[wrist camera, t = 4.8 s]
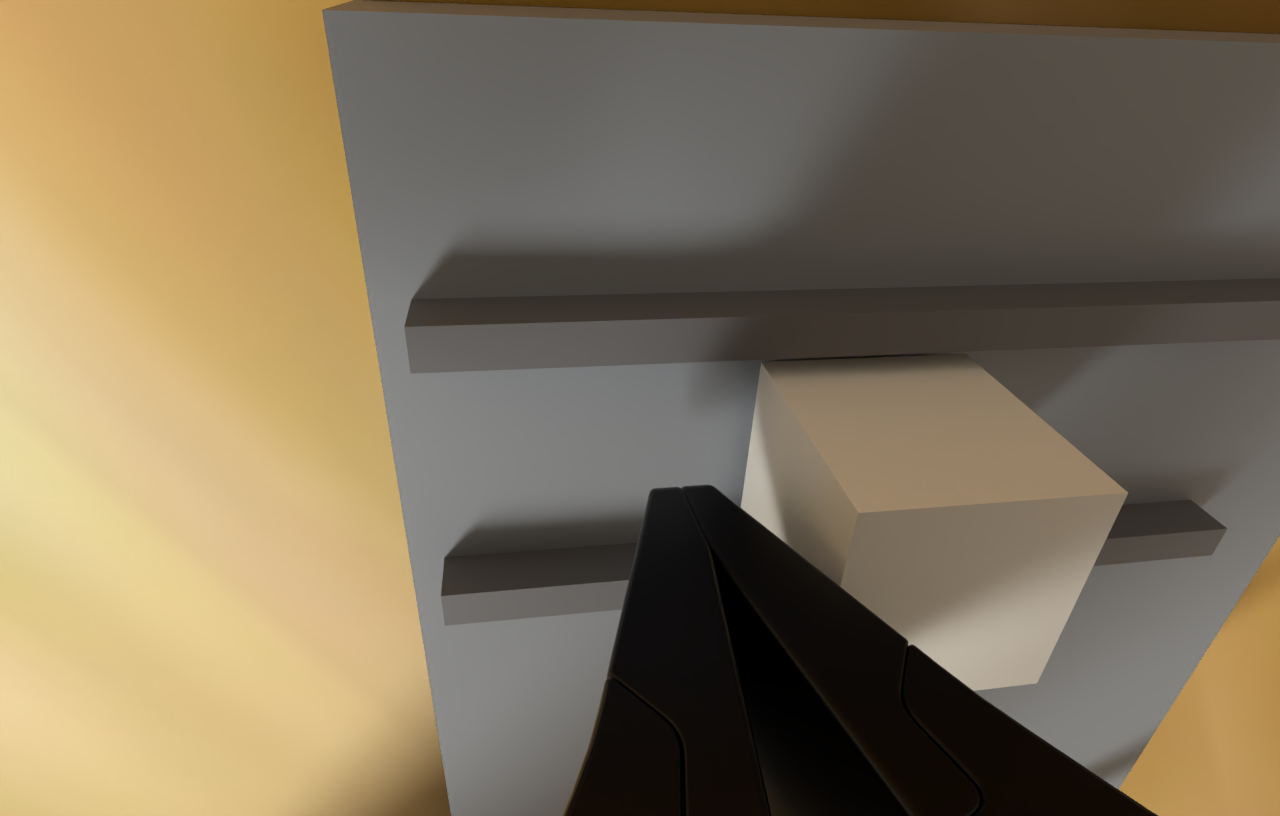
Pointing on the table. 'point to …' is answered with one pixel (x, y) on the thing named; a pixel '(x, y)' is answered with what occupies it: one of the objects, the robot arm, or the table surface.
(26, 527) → the table surface
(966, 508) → the slider
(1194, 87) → the switch panel
